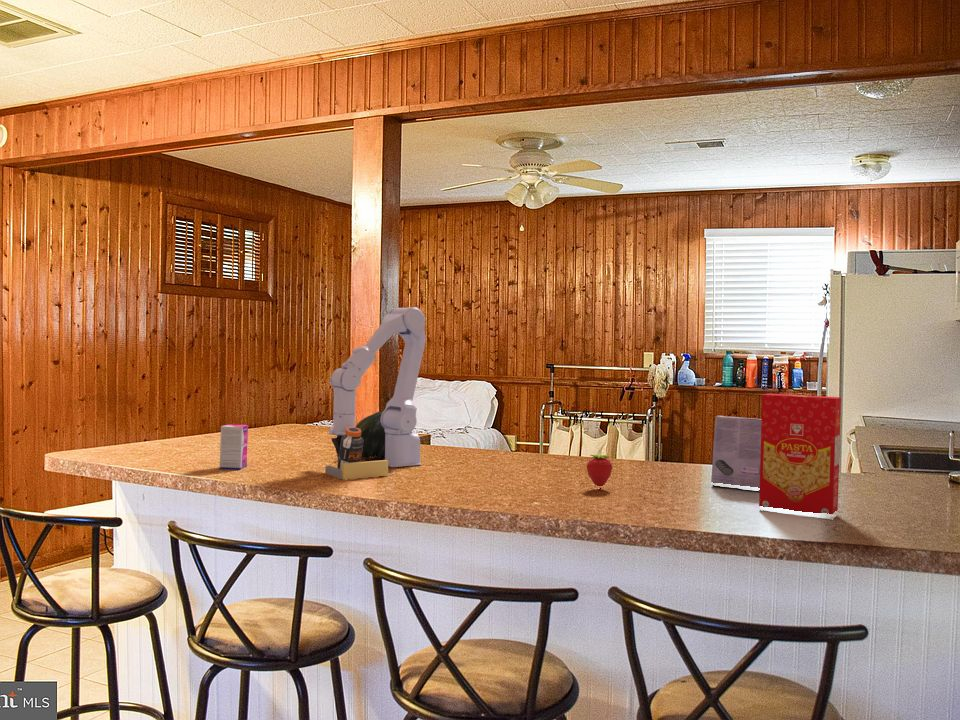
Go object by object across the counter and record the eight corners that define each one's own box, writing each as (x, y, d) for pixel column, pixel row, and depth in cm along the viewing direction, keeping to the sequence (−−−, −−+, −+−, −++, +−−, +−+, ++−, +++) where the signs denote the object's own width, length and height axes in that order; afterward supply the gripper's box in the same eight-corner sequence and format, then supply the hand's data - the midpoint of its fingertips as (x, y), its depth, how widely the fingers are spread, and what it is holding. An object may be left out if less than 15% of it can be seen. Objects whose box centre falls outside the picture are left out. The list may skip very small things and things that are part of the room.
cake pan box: (795, 493, 195) (797, 419, 195) (792, 496, 191) (794, 421, 190) (715, 484, 205) (717, 414, 204) (710, 487, 200) (712, 416, 200)
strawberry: (581, 490, 193) (582, 448, 193) (593, 485, 200) (594, 445, 199) (605, 493, 190) (606, 450, 190) (616, 488, 197) (617, 447, 196)
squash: (344, 436, 244) (355, 402, 235) (391, 436, 250) (404, 403, 241) (352, 473, 234) (364, 439, 225) (401, 472, 241) (415, 439, 232)
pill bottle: (347, 475, 209) (352, 435, 206) (332, 467, 212) (337, 427, 209) (364, 470, 213) (369, 431, 210) (349, 462, 217) (354, 423, 214)
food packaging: (758, 510, 174) (762, 394, 173) (765, 506, 178) (768, 393, 177) (832, 520, 165) (836, 398, 165) (837, 516, 170) (841, 397, 169)
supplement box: (241, 470, 213) (241, 426, 213) (218, 469, 213) (219, 426, 213) (248, 466, 219) (248, 424, 219) (226, 466, 219) (226, 423, 219)
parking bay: (368, 469, 217) (368, 454, 217) (387, 476, 208) (388, 460, 208) (325, 473, 210) (325, 458, 210) (343, 480, 201) (343, 464, 201)
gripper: (319, 411, 219) (318, 461, 219) (341, 416, 207) (340, 469, 207) (343, 410, 223) (342, 459, 223) (366, 415, 211) (365, 467, 211)
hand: (343, 464), depth 215 cm, fingers closed, pressing on pill bottle
